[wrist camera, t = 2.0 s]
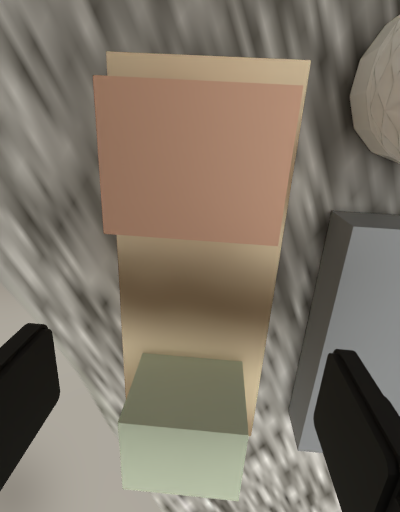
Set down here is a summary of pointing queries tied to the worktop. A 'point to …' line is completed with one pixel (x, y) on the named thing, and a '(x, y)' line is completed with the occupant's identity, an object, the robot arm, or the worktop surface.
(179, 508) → the worktop surface
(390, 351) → the dock
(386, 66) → the white cup
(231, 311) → the long beige board
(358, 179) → the worktop surface
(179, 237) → the salmon square box
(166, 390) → the pale green block
